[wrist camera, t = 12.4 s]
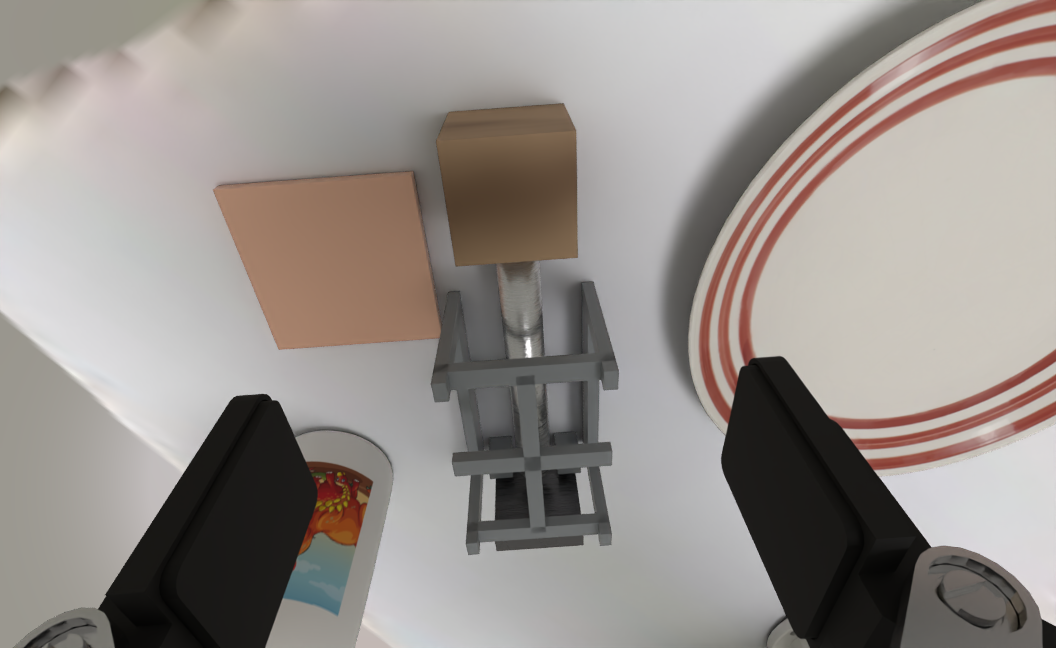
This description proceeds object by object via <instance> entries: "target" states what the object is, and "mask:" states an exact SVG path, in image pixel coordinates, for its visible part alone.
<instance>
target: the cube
mask: <svg viewBox="0 0 1056 648" xmlns="http://www.w3.org/2000/svg"><path fill="white" fill-rule="evenodd" d="M436 145H437V151H438V157H439V164H440V170H441V176H442V183H443V189H444V195H445V202H446V208H447V215H448V221H449V227H450V234H451V240H452V246H453V253H454V259H455V265H456V266H469V265H483V264H497V263H511V262H524V261H538V260H552V259H566V258H578V245H577V156H576V129H575V127H574V125H573V123H572V120H571V118H570V116H569V114H568V112H567V110H566V108H565V105H564V103H562V104H549V105H536V106H522V107H509V108H495V109H482V110H468V111H455V112H449V113H448V115H447V117H446V120H445V122H444V124H443V126H442V129H441V131H440V133H439V135H438V138H437V140H436Z"/></svg>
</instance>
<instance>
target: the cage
mask: <svg viewBox="0 0 1056 648" xmlns="http://www.w3.org/2000/svg"><path fill="white" fill-rule="evenodd" d="M618 379H619V370H618V366H617V363H616V359H615V356H614V352H613V349H612V345H611V342H610V338H609V335H608V331H607V328H606V324H605V321H604V317H603V314H602V310H601V307H600V303H599V300H598V296H597V293H596V289H595V286H594V282H582V354H574V355H560V356H546V357H532V358H518V359H504V360H490V361H476V362H471V361H470V354H469V348H468V342H467V335H466V329H465V323H464V316H463V310H462V304H461V297H460V291H457V292H448V296H447V302H446V307H445V312H444V317H443V323H442V328H441V333H440V339H439V344H438V349H437V355H436V360H435V365H434V370H433V376H432V381H431V387H432V391H433V396H434V400H435V402H446V401H449V399H450V391H451V390H457V394H458V400H459V405H460V410H461V416H462V421H463V427H464V432H465V438H466V443H467V448H468V452H459V453H453V457H452V465H453V470H454V475H455V476H467V475H471V481H470V494H469V508H468V522H467V535H466V547H467V551H468V555H474V554H479V552H480V542H492V541H507V540H522V539H536V538H551V537H565V536H580V535H594V534H598V536H599V542H600V546H605V545H611V539H612V533H611V527H610V522H609V517H608V511H607V506H606V501H605V496H604V490H603V485H602V480H601V474H600V469H599V466H610V465H612V448H611V443H610V442H602V443H598V421H599V380H601V381H602V385H603V389H604V390H616V389H618ZM575 381H583V444H578V442H577V435H576V432H564V433H554V435H555V446H545V447H540V444H539V430H538V417H537V403H536V389H535V384H547V383H561V382H575ZM504 386H517V395H518V405H519V415H520V425H521V435H522V445H523V448H516V449H513V448H512V438H511V436H507V437H493V438H490V443H489V450H487V451H484V443H483V436H482V430H481V424H480V417H479V411H478V405H477V398H476V392H475V389H476V388H490V387H504ZM582 467H587V469H588V476H589V482H590V488H591V494H592V500H593V506H594V512H595V514H581V515H566V516H552V517H545V513H544V499H543V485H542V472H541V470H553V469H558V474H568V473H581V468H582ZM524 471H525V476H526V486H527V496H528V506H529V516H530V518H523V519H508V520H494V521H481V511H482V490H483V474H490V479H496V478H511V477H513V472H524Z"/></svg>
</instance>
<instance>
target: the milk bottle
mask: <svg viewBox="0 0 1056 648" xmlns="http://www.w3.org/2000/svg"><path fill="white" fill-rule="evenodd" d="M295 438H296V441H297V443H298V445H299V447H300V450H301V452H302V454H303V456H304V458H305V461H306V463H307V465H308V467H309V470H310V472H311V474H312V476H313V479H314V481H315V483H316V486H317V490H318V498H317V503H316V506H315V509H314V512H313V515H312V518H311V521H310V523H309V526H308V529H307V532H306V535H305V537H304V540H303V543H302V546H301V549H300V551H299V554H298V557H297V560H296V563H295V565H294V568H293V571H292V574H291V577H290V579H289V582H288V585H287V588H286V591H285V593H284V596H283V599H282V602H281V605H280V608H279V610H278V613H277V616H276V619H275V622H274V624H273V627H272V630H271V633H270V636H269V638H268V641H267V644H266V647H265V648H355V645H356V641H357V637H358V633H359V629H360V626H361V622H362V618H363V614H364V609H365V605H366V601H367V597H368V592H369V588H370V584H371V580H372V576H373V571H374V567H375V563H376V558H377V554H378V549H379V545H380V541H381V536H382V532H383V527H384V523H385V518H386V514H387V510H388V505H389V501H390V496H391V491H392V485H393V472H392V469H391V466H390V463H389V461H388V459H387V458H386V456H385V454H384V453H383V452H382V451H381V450H380V449H379V448H378V447H376V446H375V445H373V444H372V443H371V442H369V441H367V440H365V439H363V438H361V437H359V436H356V435H353V434H350V433H345V432H340V431H330V430H322V431H313V432H309V433H304V434H302V435H300V436H297V437H295Z"/></svg>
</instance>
